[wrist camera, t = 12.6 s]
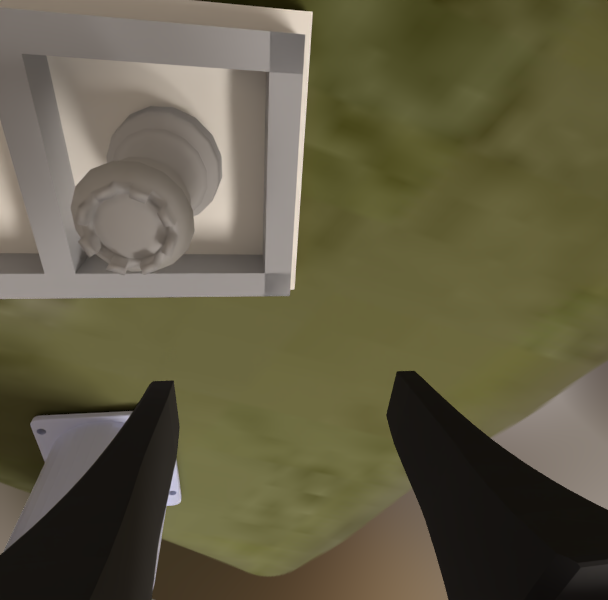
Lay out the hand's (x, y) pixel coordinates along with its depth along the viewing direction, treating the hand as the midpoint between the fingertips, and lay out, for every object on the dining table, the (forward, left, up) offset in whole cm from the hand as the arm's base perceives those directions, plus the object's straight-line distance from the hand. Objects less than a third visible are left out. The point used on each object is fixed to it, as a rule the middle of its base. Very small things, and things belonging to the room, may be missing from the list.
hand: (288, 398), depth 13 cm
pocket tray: (+5, +9, -10) cm, 14 cm away
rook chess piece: (+5, +4, -9) cm, 11 cm away
